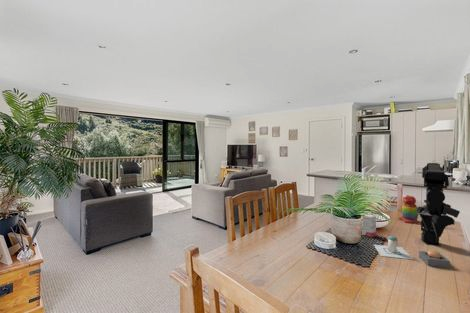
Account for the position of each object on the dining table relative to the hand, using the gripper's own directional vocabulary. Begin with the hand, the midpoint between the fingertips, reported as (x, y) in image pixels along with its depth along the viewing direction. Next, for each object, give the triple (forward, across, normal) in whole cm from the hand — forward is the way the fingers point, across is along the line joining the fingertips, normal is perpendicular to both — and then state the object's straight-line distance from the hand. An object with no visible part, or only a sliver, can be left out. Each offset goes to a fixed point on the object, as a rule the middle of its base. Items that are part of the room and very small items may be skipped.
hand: (433, 233), depth 104 cm
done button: (+11, 0, 0) cm, 11 cm away
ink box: (+13, +29, +20) cm, 37 cm away
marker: (+13, +7, +14) cm, 20 cm away
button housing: (+13, 0, 0) cm, 13 cm away
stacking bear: (+13, +64, -14) cm, 67 cm away
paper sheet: (+13, +7, +14) cm, 20 cm away
